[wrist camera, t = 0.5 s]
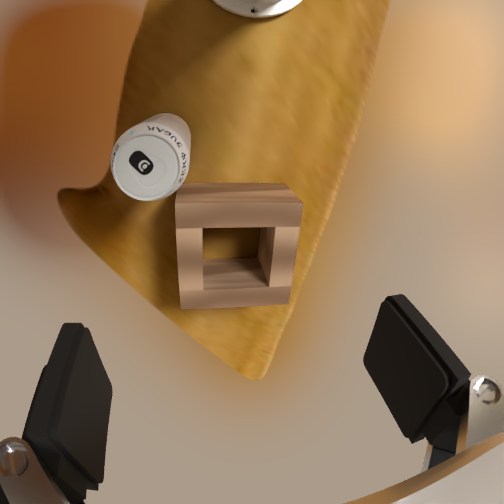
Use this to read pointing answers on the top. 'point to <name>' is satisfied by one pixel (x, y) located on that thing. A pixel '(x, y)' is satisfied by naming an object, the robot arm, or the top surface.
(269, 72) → the top surface
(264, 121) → the top surface
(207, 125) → the top surface
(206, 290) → the well
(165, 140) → the energy drink can
